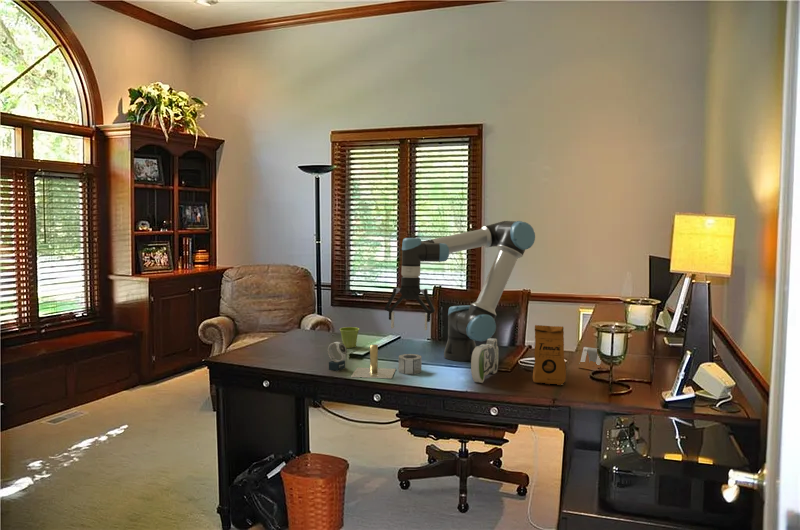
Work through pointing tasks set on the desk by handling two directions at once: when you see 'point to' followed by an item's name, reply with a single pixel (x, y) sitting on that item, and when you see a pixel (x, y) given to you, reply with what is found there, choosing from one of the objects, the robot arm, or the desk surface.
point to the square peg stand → (374, 367)
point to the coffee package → (549, 355)
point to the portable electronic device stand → (590, 355)
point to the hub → (410, 363)
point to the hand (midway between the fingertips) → (409, 328)
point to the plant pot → (349, 336)
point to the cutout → (484, 360)
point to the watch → (336, 364)
